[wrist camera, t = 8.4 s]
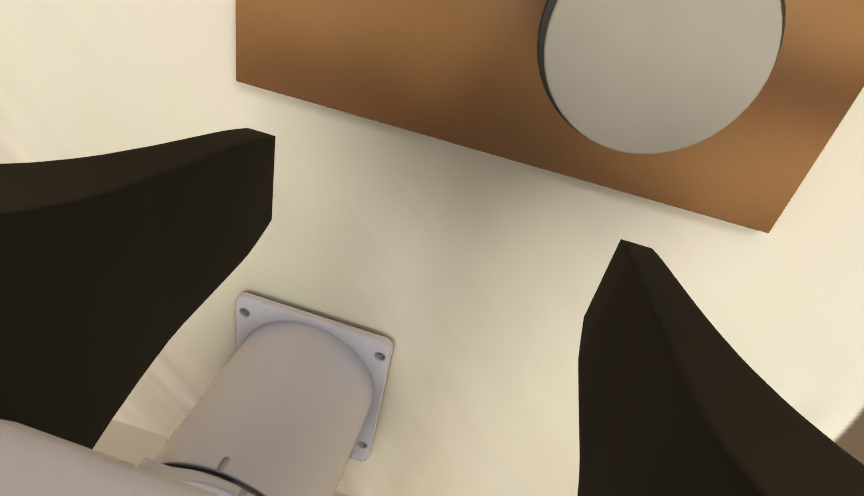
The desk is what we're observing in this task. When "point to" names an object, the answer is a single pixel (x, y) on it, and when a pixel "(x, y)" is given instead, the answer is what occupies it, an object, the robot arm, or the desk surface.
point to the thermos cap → (656, 66)
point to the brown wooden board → (529, 104)
